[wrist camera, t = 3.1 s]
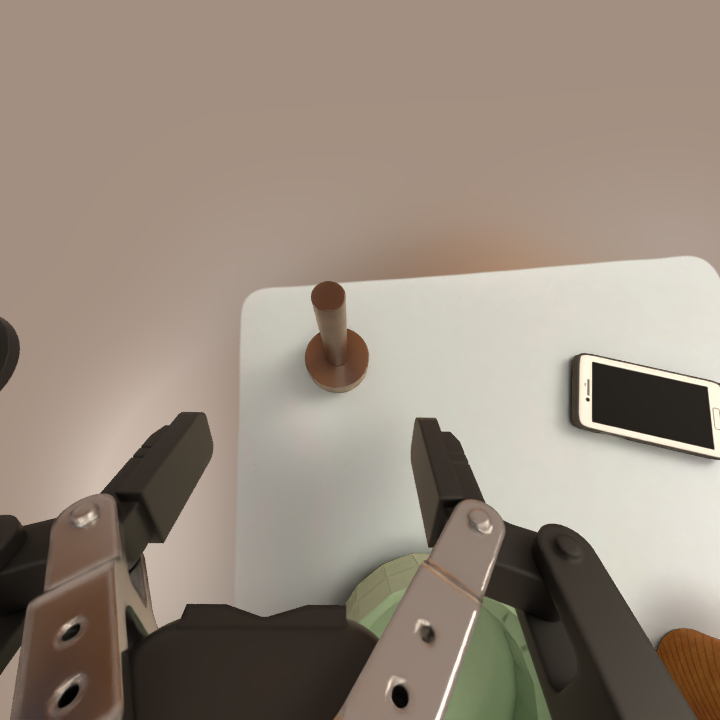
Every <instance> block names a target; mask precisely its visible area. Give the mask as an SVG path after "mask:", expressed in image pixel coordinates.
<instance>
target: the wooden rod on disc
mask: <svg viewBox="0 0 720 720" xmlns="http://www.w3.org/2000/svg"><path fill="white" fill-rule="evenodd" d="M311 300H312V304H313V308H314V312H315V316H316V319H317V323H318V327H319V331H320V332H319V333H318V334H317V335H315V336H314V337H313V339H312V340H311V341H310V343H309V344H308V347H307V349H306V353H305V362H306V366H307V369H308V371H309V373H310V375H311V377H312V379H313V380H314V382H315V383H316V384H317V385H318V386H319V387H321V388H322V389H324V390H326V391H329V392H334V393H341V392H346V391H349V390H351V389H353V388H355V387H356V386H358V385H359V384H360V383H361V381H362V380H363V379H364V377H365V375H366V372H367V367H368V362H369V352H368V348H367V346H366V344H365V342H364V340H363V339H362V338H361V337H360V336H359V335H358V334H357V333H355V332H354V331H352V330H350V329H347V323H346V297H345V291H344V289H343V288H342V287H341V286H340V285H339V284H337V283H335V282H332V281H325V282H322V283H320V284H318V285H317V286H316V287H315V288H314V289H313V291H312V294H311Z"/></svg>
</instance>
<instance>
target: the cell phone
mask: <svg viewBox="0 0 720 720" xmlns="http://www.w3.org/2000/svg"><path fill="white" fill-rule="evenodd" d="M632 364H633V365H632ZM572 421H573V423H574V425H575V426H577V427H579V428H581V429H584V430H588V431H592V432H596V433H600V432H602V433H607V434H611V435H615V436H620V437H624V438H625V439H628V440H632V441H636V442H640V443H645V444H649V445H653V446H658V447H662V448H666V449H671V450H675V451H679V452H684V453H688V454H692V455H697V456H701V457H705V458H709V459H715V460H720V383H717V382H714V381H711V380H707V379H702V378H698V377H693V376H689V375H684V374H680V373H675V372H671V371H666V370H662V369H657V368H653V367H648V366H643V365H639V364H634V363H630V362H625V361H621V360H616V359H612V358H607V357H603V356H598V355H594V354H587V353H581V354H579V355H576V356H575V357H574V359H573V367H572Z"/></svg>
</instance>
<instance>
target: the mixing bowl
mask: <svg viewBox="0 0 720 720" xmlns="http://www.w3.org/2000/svg"><path fill="white" fill-rule="evenodd" d="M429 555H430V554H422V553H412V554H409V555H406V556H404V557H401V558H398V559H396V560H393V561H390V562H387V563H385V564H382V565H381V566H380V567H379V568H377V569H376V570H375V571H374V572H373V573H371V574H370V575H369V576H368V577H367V578H365V579H364V580H363V581H362V582H361V583H359V584H358V585H357V587H356V588H355V590H354V591H353V593H352V594H351V596H350V598H349V599H348V601H347V602H346V604H345V605H346V618H348V619H351V620H354V621H356V622H358V623H360V624H361V625H363V626H365V627H366V628H368V629H369V630H370V631H372V632H373V633H374V634H375V635H376V636H377V637H378V638H379V639H380V637H381V635H382V633H383V632H384V630H385V628H386V626H387V624H388V622H389V621H390V619H391V617H392V615H393V613H394V611H395V610H396V608H397V606H398V604H399V602H400V600H401V599H402V597H403V595H404V593H405V591H406V590H407V588H408V586H409V584H410V582H411V580H412V579H413V577H414V575H415V573H416V571H417V569H418V568H419V566H420V564H421V563H422V562H423V561H424V560H427V559H428V557H429ZM444 720H552V719H551V716H550V713H549V710H548V707H547V704H546V701H545V698H544V695H543V692H542V689H541V686H540V683H539V680H538V677H537V674H536V671H535V668H534V665H533V662H532V659H531V656H530V653H529V650H528V647H527V644H526V641H525V638H524V635H523V631H522V628H521V625H520V622H519V619H518V616H517V613H516V610H515V608H514V607H511V606H508V605H506V604H503V603H500V602H498V601H495V600H493V599H490V598H487V597H485V596H484V598H483V603H482V607H481V610H480V613H479V616H478V619H477V622H476V625H475V628H474V631H473V634H472V637H471V640H470V643H469V646H468V649H467V652H466V655H465V658H464V661H463V664H462V667H461V670H460V673H459V676H458V679H457V682H456V685H455V688H454V691H453V694H452V697H451V700H450V702H449V705H448V708H447V711H446V714H445V717H444Z"/></svg>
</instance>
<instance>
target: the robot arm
mask: <svg viewBox="0 0 720 720" xmlns="http://www.w3.org/2000/svg"><path fill="white" fill-rule="evenodd" d="M212 453H213V441H212V437H211V433H210V429H209V425H208V421H207V418H206V415H205V413H202V412H181V413H180V414H179V415H178V416H177V417H176V418H175V419H174V421H173V422H172V423H171V424H170V425H166V426H164V427H162V428H161V429H159V430H158V431H156V432H155V433H153V434H152V435H151V436H150V437H149V438H148V439H147V440H146V442H145V443H144V444H143V445H142V447H141V448H140V449H139V450H138V451H137V452H136V453H135V454H134V455H133V458H131V459H130V460H129V461H128V462H127V463H126V464H125V465H124V467H123V468H122V469H121V470H120V471H119V472H118V474H117V475H116V476H115V477H114V478H113V479H112V480H111V482H110V483H109V484H108V485H107V486H106V487H105V488H104V490H103V491H102V492H101V493H100V494H95V495H92V496H89V497H85V498H83V499H81V500H79V501H77V502H75V503H74V504H72V505H70V506H69V507H68V508H67V509H65V510H64V511H63V512H62V513H61V514H60V515H59V516H58V517H57V518H54V519H50V520H46V521H42V522H38V523H34V524H30V525H25V526H22V525H21V523H20V522H19V521H18V519H17V518H16V517H14V516H12V515H0V675H1V673H2V672H3V670H4V669H5V667H6V666H7V664H8V663H9V662H10V660H11V659H12V657H13V656H14V655H15V653H16V652H17V650H18V649H19V648H20V646H21V650H20V657H19V664H18V671H17V677H16V684H15V691H14V697H13V703H12V710H11V717H10V720H444V717H445V714H446V711H447V708H448V705H449V702H450V700H451V697H452V694H453V691H454V688H455V685H456V682H457V679H458V676H459V673H460V670H461V667H462V664H463V661H464V658H465V655H466V652H467V649H468V646H469V643H470V640H471V637H472V634H473V631H474V628H475V625H476V622H477V619H478V616H479V613H480V610H481V607H482V603H483V598H484V596H485V597H487V598H490V599H493V600H495V601H498V602H500V603H503V604H506V605H508V606H511V607H514V608H515V610H516V613H517V616H518V619H519V622H520V625H521V628H522V631H523V635H524V638H525V641H526V644H527V647H528V650H529V653H530V656H531V659H532V662H533V665H534V668H535V671H536V674H537V677H538V680H539V683H540V686H541V689H542V692H543V695H544V698H545V701H546V704H547V707H548V710H549V713H550V716H551V719H552V720H698V719H697V717H696V716H695V714H694V712H693V711H692V709H691V707H690V706H689V704H688V703H687V701H686V699H685V698H684V696H683V694H682V693H681V691H680V690H679V688H678V686H677V685H676V683H675V681H674V680H673V678H672V676H671V675H670V673H669V672H668V670H667V668H666V667H665V665H664V663H663V662H662V660H661V659H660V657H659V655H658V654H657V652H656V650H655V649H654V647H653V646H652V644H651V642H650V641H649V639H648V637H647V636H646V634H645V632H644V631H643V629H642V628H641V626H640V624H639V623H638V621H637V619H636V618H635V616H634V615H633V613H632V611H631V610H630V608H629V606H628V605H627V603H626V601H625V600H624V598H623V597H622V595H621V593H620V592H619V590H618V588H617V587H616V585H615V584H614V582H613V580H612V579H611V577H610V575H609V574H608V572H607V570H606V569H605V567H604V566H603V564H602V562H601V561H600V559H599V557H598V556H597V554H596V553H595V551H594V549H593V548H592V547H591V545H590V544H589V543H588V542H587V541H586V540H585V539H584V538H583V537H582V536H580V535H579V534H578V533H576V532H575V531H573V530H571V529H570V528H567V527H565V526H562V525H559V524H546V525H544V526H542V527H541V528H540V530H539V531H538V532H534V531H531V530H528V529H525V528H522V527H518V526H515V525H512V524H510V523H508V522H506V521H504V520H502V518H501V516H500V515H499V514H498V512H497V511H496V510H495V509H493V508H492V507H491V506H489V505H488V504H486V503H485V501H484V499H483V496H482V494H481V491H480V489H479V487H478V484H477V482H476V479H475V477H474V475H473V472H472V470H471V467H470V465H468V460H467V458H466V456H465V455H464V451H463V448H462V446H461V444H460V441H459V440H458V439H457V438H456V437H455V436H454V435H453V434H452V433H451V432H441V430H440V427H439V424H438V421H437V419H436V418H416V419H415V423H414V430H413V437H412V444H411V464H412V469H413V474H414V479H415V484H416V489H417V494H418V498H419V503H420V508H421V513H422V518H423V523H424V528H425V533H426V538H427V543H428V548H433V550H432V552H431V554H430V555H429V557H428V559H427V560H424V561H423V562H422V563H421V564H420V566H419V568H418V569H417V571H416V573H415V575H414V577H413V579H412V580H411V582H410V584H409V586H408V588H407V590H406V591H405V593H404V595H403V597H402V599H401V600H400V602H399V604H398V606H397V608H396V610H395V611H394V613H393V615H392V617H391V619H390V621H389V622H388V624H387V626H386V628H385V630H384V632H383V633H382V635H381V637H380V639H379V638H378V637H377V636H376V635H375V634H374V633H373V632H372V631H370V630H369V629H368V628H366V627H365V626H363V625H361V624H360V623H358V622H356V621H354V620H351V619H348V618H346V605H306V606H303V607H299V608H296V609H292V610H289V611H286V612H282V613H279V614H275V615H272V616H269V617H261V616H258V615H255V614H252V613H249V612H246V611H244V610H241V609H238V608H235V607H232V606H230V605H227V604H187V605H186V607H185V610H184V612H183V614H182V617H181V619H178V620H176V621H173V622H171V623H168V624H166V625H165V626H162V627H161V628H159V629H158V627H157V624H156V621H155V618H154V615H153V610H152V604H151V597H150V591H149V584H148V577H147V570H146V563H145V557H144V554H143V551H144V549H145V548H146V546H147V544H148V543H164V541H165V540H166V538H167V536H168V534H169V532H170V531H171V529H172V527H173V525H174V524H175V522H176V520H177V518H178V516H179V515H180V513H181V511H182V509H183V508H184V506H185V504H186V502H187V500H188V499H189V496H190V495H191V493H192V492H193V489H194V488H195V486H196V484H197V483H198V481H199V479H200V477H201V476H202V474H203V472H204V470H205V468H206V467H207V465H208V463H209V461H210V459H211V457H212Z"/></svg>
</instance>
